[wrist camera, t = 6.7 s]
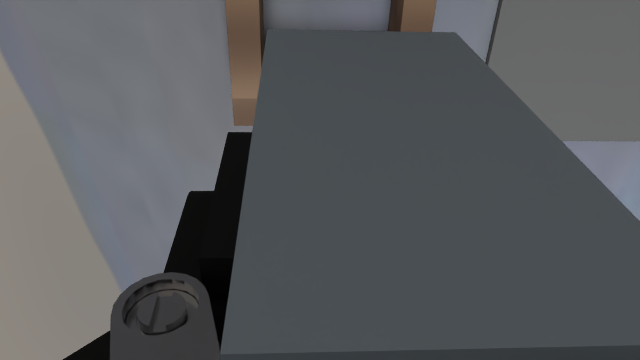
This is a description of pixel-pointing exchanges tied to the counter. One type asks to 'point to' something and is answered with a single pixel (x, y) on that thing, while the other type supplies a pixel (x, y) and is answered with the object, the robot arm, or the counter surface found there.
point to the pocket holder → (248, 45)
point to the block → (419, 215)
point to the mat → (572, 64)
